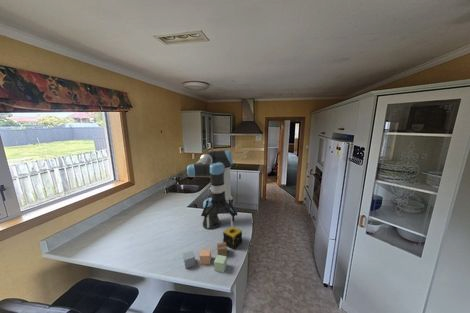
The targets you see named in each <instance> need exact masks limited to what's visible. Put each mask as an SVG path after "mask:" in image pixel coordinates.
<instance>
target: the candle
mask: <svg viewBox="0 0 470 313" xmlns="http://www.w3.org/2000/svg"><path fill="white" fill-rule="evenodd" d="M222 235H223V239H222V241H223V242H222V243H224V242H226V246H227V247H228V248H229V249H231V250H235V249H236V248H238V247H240V245H241V244H242V243H243V230H242V229H240V228H237V227H235V226H233V228H231V226H230V227H229V228H227V229H225V230H223V232H222Z"/></svg>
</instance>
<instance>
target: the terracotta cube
mask: <svg viewBox="0 0 470 313" xmlns="http://www.w3.org/2000/svg"><path fill="white" fill-rule="evenodd" d="M199 261H200V263H199V264H200V266H201V265H211V262H212V249H207V248H205V249H204V248H203V249H200V254H199Z"/></svg>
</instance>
